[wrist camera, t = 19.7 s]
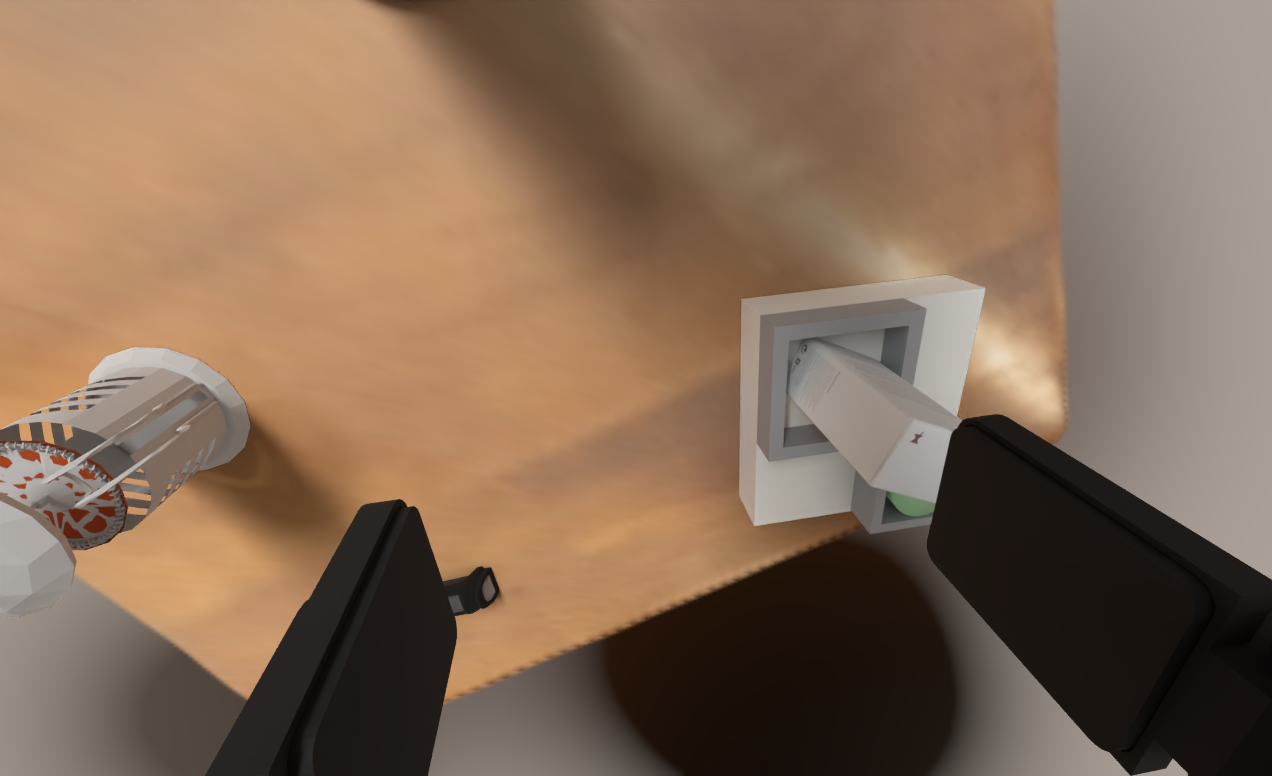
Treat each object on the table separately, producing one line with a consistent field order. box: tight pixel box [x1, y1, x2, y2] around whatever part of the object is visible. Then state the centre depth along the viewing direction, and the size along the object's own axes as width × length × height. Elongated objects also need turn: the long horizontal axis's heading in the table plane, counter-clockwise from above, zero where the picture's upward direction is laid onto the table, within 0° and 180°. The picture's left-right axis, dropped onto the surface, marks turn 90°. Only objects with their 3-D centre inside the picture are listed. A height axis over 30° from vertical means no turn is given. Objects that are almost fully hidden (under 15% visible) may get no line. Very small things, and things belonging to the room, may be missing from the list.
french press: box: [0, 347, 251, 617], centre depth 24 cm, size 10×12×25 cm
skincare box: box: [786, 337, 962, 504], centre depth 31 cm, size 6×4×12 cm
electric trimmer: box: [443, 566, 499, 616], centre depth 44 cm, size 4×16×3 cm, turn 98°
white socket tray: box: [739, 275, 986, 534], centre depth 39 cm, size 18×16×7 cm
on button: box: [886, 491, 935, 516], centre depth 39 cm, size 5×5×3 cm
